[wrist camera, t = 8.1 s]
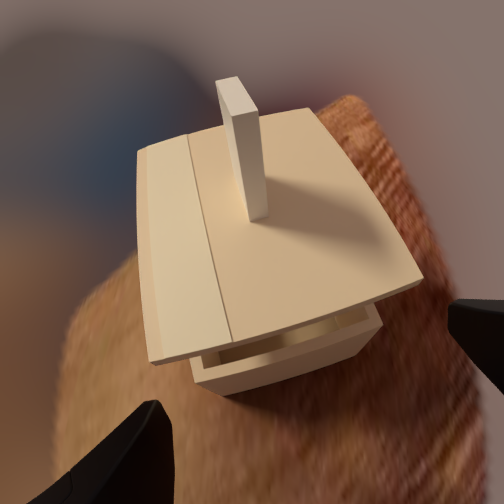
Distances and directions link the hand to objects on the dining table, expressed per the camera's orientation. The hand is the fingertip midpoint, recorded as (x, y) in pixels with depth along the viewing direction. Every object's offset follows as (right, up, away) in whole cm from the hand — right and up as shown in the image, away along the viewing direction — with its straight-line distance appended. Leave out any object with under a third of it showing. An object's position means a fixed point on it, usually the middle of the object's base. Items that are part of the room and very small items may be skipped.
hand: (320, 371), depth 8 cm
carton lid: (-2, +5, +6) cm, 8 cm away
